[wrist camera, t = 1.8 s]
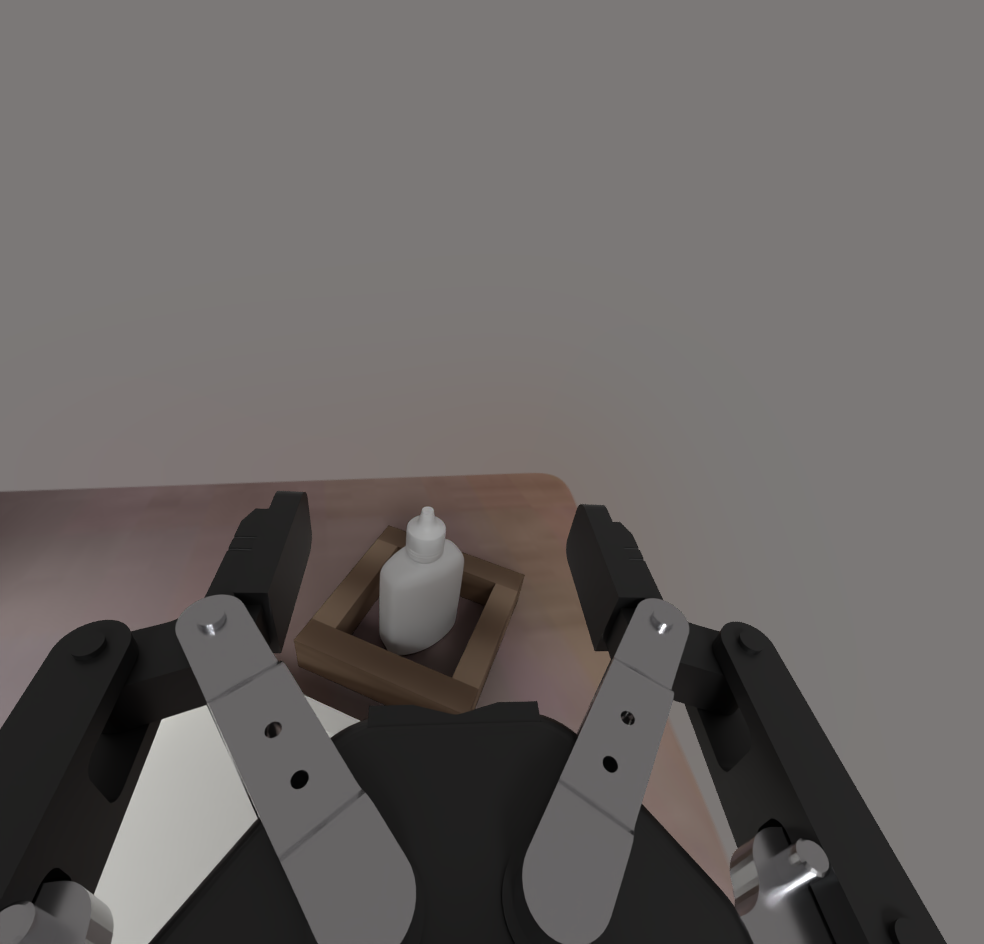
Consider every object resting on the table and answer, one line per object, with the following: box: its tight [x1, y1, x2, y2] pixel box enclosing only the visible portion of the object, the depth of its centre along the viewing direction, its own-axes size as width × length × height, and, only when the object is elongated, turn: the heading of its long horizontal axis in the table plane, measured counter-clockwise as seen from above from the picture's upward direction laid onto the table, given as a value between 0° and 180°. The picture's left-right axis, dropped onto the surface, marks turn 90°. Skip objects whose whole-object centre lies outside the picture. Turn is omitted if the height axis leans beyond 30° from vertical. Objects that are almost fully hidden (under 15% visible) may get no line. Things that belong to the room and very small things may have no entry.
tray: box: [94, 695, 360, 944], centre depth 23 cm, size 15×17×2 cm
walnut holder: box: [294, 526, 524, 714], centre depth 35 cm, size 12×12×3 cm
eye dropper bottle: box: [379, 506, 464, 656], centre depth 32 cm, size 4×6×12 cm
